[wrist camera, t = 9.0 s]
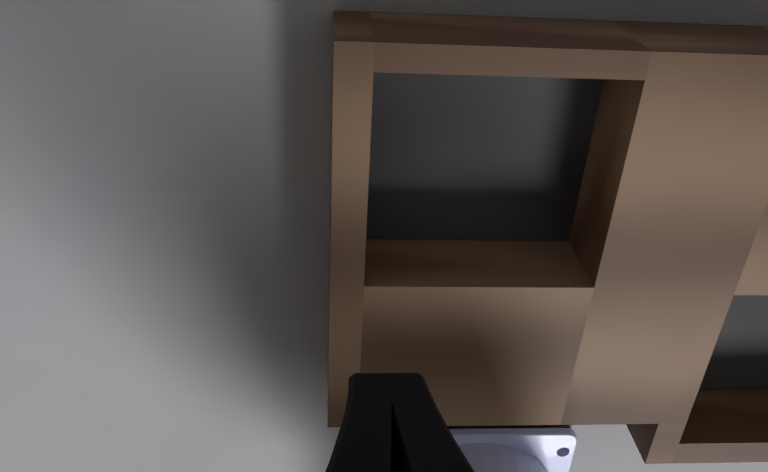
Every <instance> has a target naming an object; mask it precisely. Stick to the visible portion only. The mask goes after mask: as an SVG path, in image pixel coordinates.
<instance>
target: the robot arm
mask: <svg viewBox="0 0 768 472" xmlns="http://www.w3.org/2000/svg"><path fill="white" fill-rule="evenodd" d="M576 445H577V437H576V435H575V433H574V431H573V430H572V429H570V428H497V429H448V427H447V425H446V423H445V421H444V419H443V417H442V415H441V414H440V412H439V410H438V408H437V406H436V404H435V402H434V400H433V397H432V395H431V393H430V391H429V389H428V386H427V384H426V381H425V379H424V377H423V376H422V375H421V374H420V373H354V374H353V375H352V376H350V377H349V381H348V397H347V403H346V408H345V412H344V416H343V420H342V424H341V428H340V431H339V434H338V437H337V441H336V444H335V447H334V450H333V453H332V456H331V459H330V462H329V464H328V467H327V469H326V472H569V471H570V467H571V463H572V460H573V456H574V452H575V448H576ZM560 448H563V449H560Z"/></svg>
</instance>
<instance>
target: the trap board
mask: <svg viewBox="0 0 768 472" xmlns="http://www.w3.org/2000/svg"><path fill="white" fill-rule="evenodd" d="M354 373H420V374H421V375H422V376H423V377H424V379H425V381H426V384H427V386H428V389H429V391H430V393H431V395H432V397H433V400H434V402H435V404H436V406H437V408H438V410H439V412H440V414H441V415H442V417H443V419H444V421H445V423H446V425H447V426H491V425H588V424H626V425H627V427H628V429H629V431H630V433H631V435H632V437H633V439H634V441H635V444H636V446H637V448H638V450H639V452H640V454H641V456H642V458H643V460H644V462H645V464H656V463H723V462H768V27H764V26H737V25H710V24H682V23H655V22H628V21H601V20H573V19H546V18H519V17H491V16H464V15H437V14H410V13H382V12H355V11H333V72H332V139H331V206H330V273H329V340H328V427H341V424H342V420H343V416H344V412H345V408H346V403H347V397H348V381H349V377H350V376H352V375H353V374H354Z"/></svg>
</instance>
